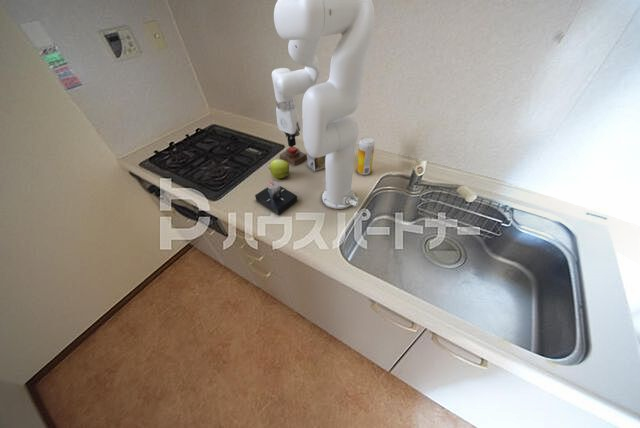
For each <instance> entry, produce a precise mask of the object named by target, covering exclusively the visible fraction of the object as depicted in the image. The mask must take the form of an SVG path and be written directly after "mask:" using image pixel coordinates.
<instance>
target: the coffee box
mask: <svg viewBox="0 0 640 428" xmlns="http://www.w3.org/2000/svg"><path fill="white" fill-rule="evenodd" d="M306 157H307V158H306V159H307V166H308V167H309V168H310V169H311V170H313V172H314V173H315V172H318V171H320V170H322V169H325V158H326V155H325V156H322V157H319V158H314V157H311V156H310V155H309V154H308V153H307V152H306Z"/></svg>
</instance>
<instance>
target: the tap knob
mask: <svg viewBox="0 0 640 428" xmlns="http://www.w3.org/2000/svg"><path fill="white" fill-rule="evenodd" d="M280 186H281V185H280V183H279V182H278V181H276V180H273V181H269V182H268V183H267V185H266V188H267V187H268V190H269V194H270V197H271V198H272V199H277V198H280V197H281V190H280Z"/></svg>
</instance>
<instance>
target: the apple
mask: <svg viewBox="0 0 640 428" xmlns="http://www.w3.org/2000/svg"><path fill="white" fill-rule="evenodd" d="M268 170H270V173H271V175H272V177H273V178H275V179H283V178H286V177H287V176H289V174H290V163H289V162H286V161H284V160H282V159H280V158H277V159H273V160H272V161H271V162H270V164H269V167H268Z"/></svg>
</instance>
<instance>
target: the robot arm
mask: <svg viewBox="0 0 640 428" xmlns="http://www.w3.org/2000/svg"><path fill="white" fill-rule="evenodd" d="M375 15H376V14H375V6H374V3H373V0H277V1H276V3H275V5H274V10H273V23H274V27H275V30H276V32H277V34H278V36H279V37H280V38H281V39H282V40H285V41H288V44H287V51H288V54H289V57H290V58H291V59H292V60H293V61H294V62H295V63H297V64H298V65H301V66H303V67H304V68H302V69H297V70H291V69H290V68H286V67H278V68H275V69H273V70H272V72H271V79H272V85H273V91H274V96H275V101H276V102H275V103H276V107H275V115H276V124H277V129H278V130H279V131H281V132H283V133H284V134H285V137H286V139H287V144H288V145H287V146H288V147H295V146H296V145H297V141H296V137H299V136H300V135H301V133H300V131H301V123H300V116H299V112H298V109H297V107H296V100H295V96H297V95H300V94H303V97H302V102H301V106H302V107H301V116H302V119H301V121H302V141H303V142H302V143H303V147H304V150H305V151H306V154H307V153H308V154H309V155H310V156H311V157H314V158H319V157H322V156H325V155H326V158H325V168H324V169H325V171H324V172H325V190H324V191H323V193H322V196H321V197H322V198H321V199H322V202H323V204H324V205H325V206H326V207H328V208H330V209H335V210H343V209H346V208H347V209H348V208H349V207H351V206H353V207H355V208H357V207H358V205H359V201H360V197H358V196H356V195H355V192H354V191H355V190H354V189H352V185H353V169H354V168H353V167H354V156H355V150H356V146H357V143H358V138H359V126H358V123H357V121H356V120H355V119H354V117H352V116H350V115H353V113H355V112H356V111H357V109H358V106H359V103H360V97H361V92H362V85H363V79H364V75H365V74H364V73H365V66H366V62H367V57H368V55H369V54H368V53H369V50H370V47H371V44H372V39H373V36H374V30H375V23H376V16H375ZM339 34H341V37H340V39H339V41H338V42H337V44H336V46H335V48H334V50H333V52H332V55H331V58H330V65H329V66H330V67H329V75H328V79H327V80H326V81H325V82H321V83H318V84H317V82H318V80H319V77H320V70H321V69H320V62H319V58H318V56H317V52H318V49H319V47H320V45H321V42H322V39H323V37H328V36H333V35H339Z"/></svg>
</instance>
